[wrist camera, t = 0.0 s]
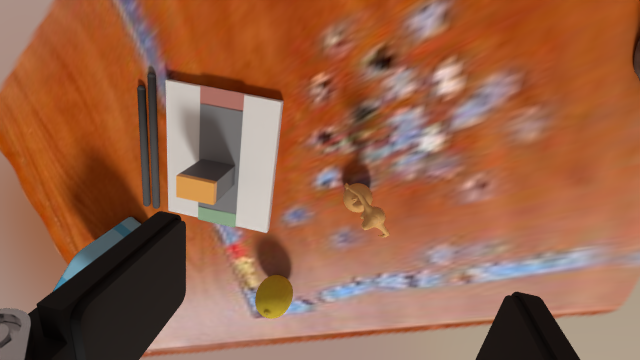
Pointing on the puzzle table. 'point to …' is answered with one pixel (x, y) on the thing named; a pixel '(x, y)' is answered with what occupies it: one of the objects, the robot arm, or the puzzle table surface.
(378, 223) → the figurine
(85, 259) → the data package
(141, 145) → the cords
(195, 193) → the toggle
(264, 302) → the lemon
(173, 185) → the panel
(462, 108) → the puzzle table surface
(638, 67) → the plant pot
